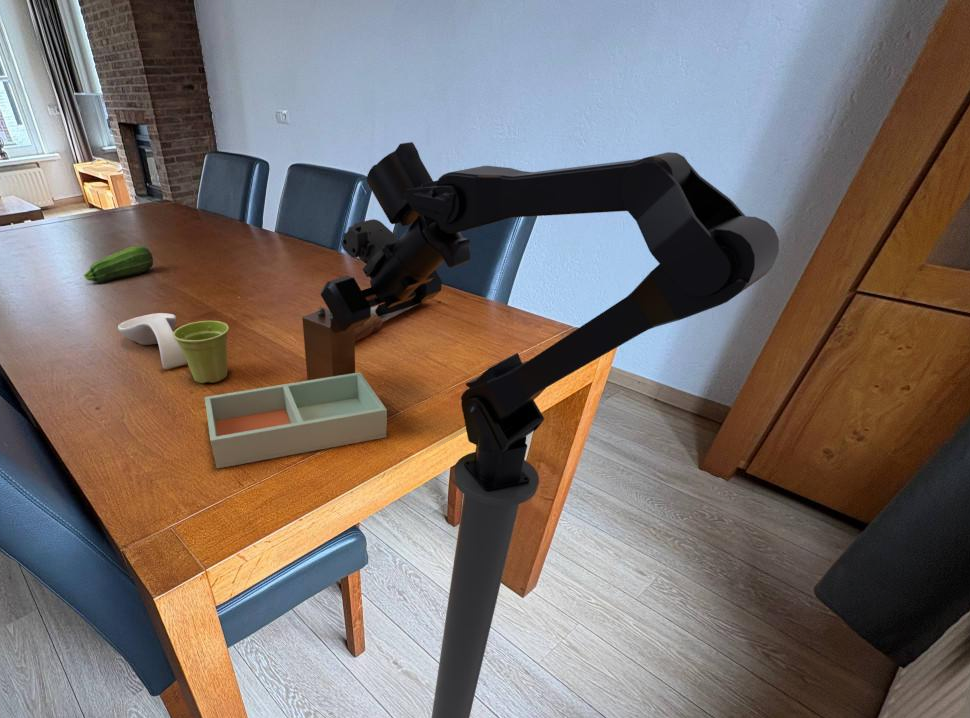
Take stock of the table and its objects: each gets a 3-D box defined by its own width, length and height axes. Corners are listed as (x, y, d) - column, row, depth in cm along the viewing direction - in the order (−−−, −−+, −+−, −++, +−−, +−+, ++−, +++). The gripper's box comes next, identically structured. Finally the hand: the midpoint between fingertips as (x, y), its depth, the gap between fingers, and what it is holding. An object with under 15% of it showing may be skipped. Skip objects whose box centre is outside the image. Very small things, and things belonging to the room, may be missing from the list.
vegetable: (148, 239, 145) (78, 254, 135) (159, 265, 147) (91, 281, 137) (142, 248, 151) (74, 263, 141) (153, 272, 153) (87, 289, 143)
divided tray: (386, 437, 74) (387, 409, 71) (216, 468, 69) (210, 440, 66) (360, 397, 83) (360, 372, 80) (210, 423, 79) (204, 396, 76)
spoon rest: (117, 337, 109) (106, 303, 105) (170, 324, 114) (162, 292, 109) (147, 376, 93) (136, 339, 89) (208, 360, 98) (200, 323, 93)
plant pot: (173, 379, 92) (161, 332, 86) (214, 361, 97) (205, 316, 92) (206, 393, 87) (195, 345, 81) (247, 373, 92) (239, 327, 87)
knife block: (328, 372, 91) (325, 300, 83) (355, 384, 87) (354, 310, 79) (307, 381, 89) (301, 308, 81) (333, 394, 84) (330, 319, 77)
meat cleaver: (391, 296, 123) (392, 279, 120) (432, 305, 117) (433, 287, 114) (296, 344, 103) (294, 324, 101) (339, 357, 97) (338, 337, 95)
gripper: (432, 189, 68) (372, 262, 81) (326, 212, 58) (279, 290, 72) (473, 262, 68) (407, 322, 81) (374, 296, 58) (318, 358, 72)
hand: (355, 321), depth 76 cm, fingers open, 9 cm apart
